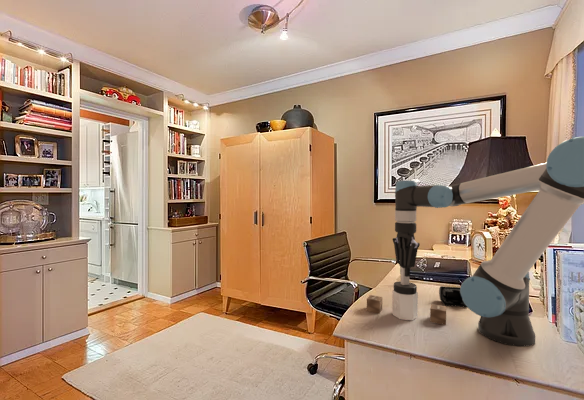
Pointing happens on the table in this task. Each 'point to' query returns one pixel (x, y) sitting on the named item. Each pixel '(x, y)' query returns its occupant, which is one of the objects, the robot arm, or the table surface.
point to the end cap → (451, 296)
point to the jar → (405, 301)
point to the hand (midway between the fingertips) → (405, 284)
